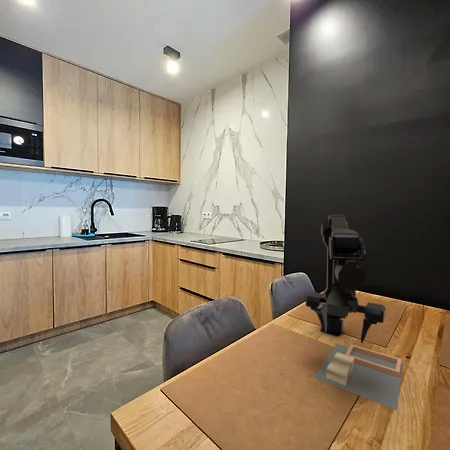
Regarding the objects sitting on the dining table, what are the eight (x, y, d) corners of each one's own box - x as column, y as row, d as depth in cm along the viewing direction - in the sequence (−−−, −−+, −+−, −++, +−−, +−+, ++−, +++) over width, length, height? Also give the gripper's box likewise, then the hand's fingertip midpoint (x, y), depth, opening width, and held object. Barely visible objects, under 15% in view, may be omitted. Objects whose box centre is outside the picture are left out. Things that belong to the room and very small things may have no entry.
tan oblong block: (345, 385, 63) (345, 375, 63) (326, 378, 66) (326, 368, 66) (354, 366, 71) (354, 357, 71) (336, 360, 74) (336, 352, 74)
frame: (344, 359, 75) (344, 355, 75) (350, 348, 81) (351, 344, 81) (399, 377, 67) (399, 372, 66) (401, 363, 73) (401, 359, 73)
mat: (313, 378, 67) (313, 377, 67) (336, 344, 84) (336, 343, 84) (396, 411, 56) (396, 409, 56) (403, 364, 73) (403, 363, 73)
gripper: (298, 280, 67) (297, 338, 68) (381, 293, 56) (379, 363, 56) (312, 272, 76) (311, 324, 76) (386, 283, 64) (385, 343, 65)
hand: (342, 337), depth 68 cm, fingers open, 9 cm apart
